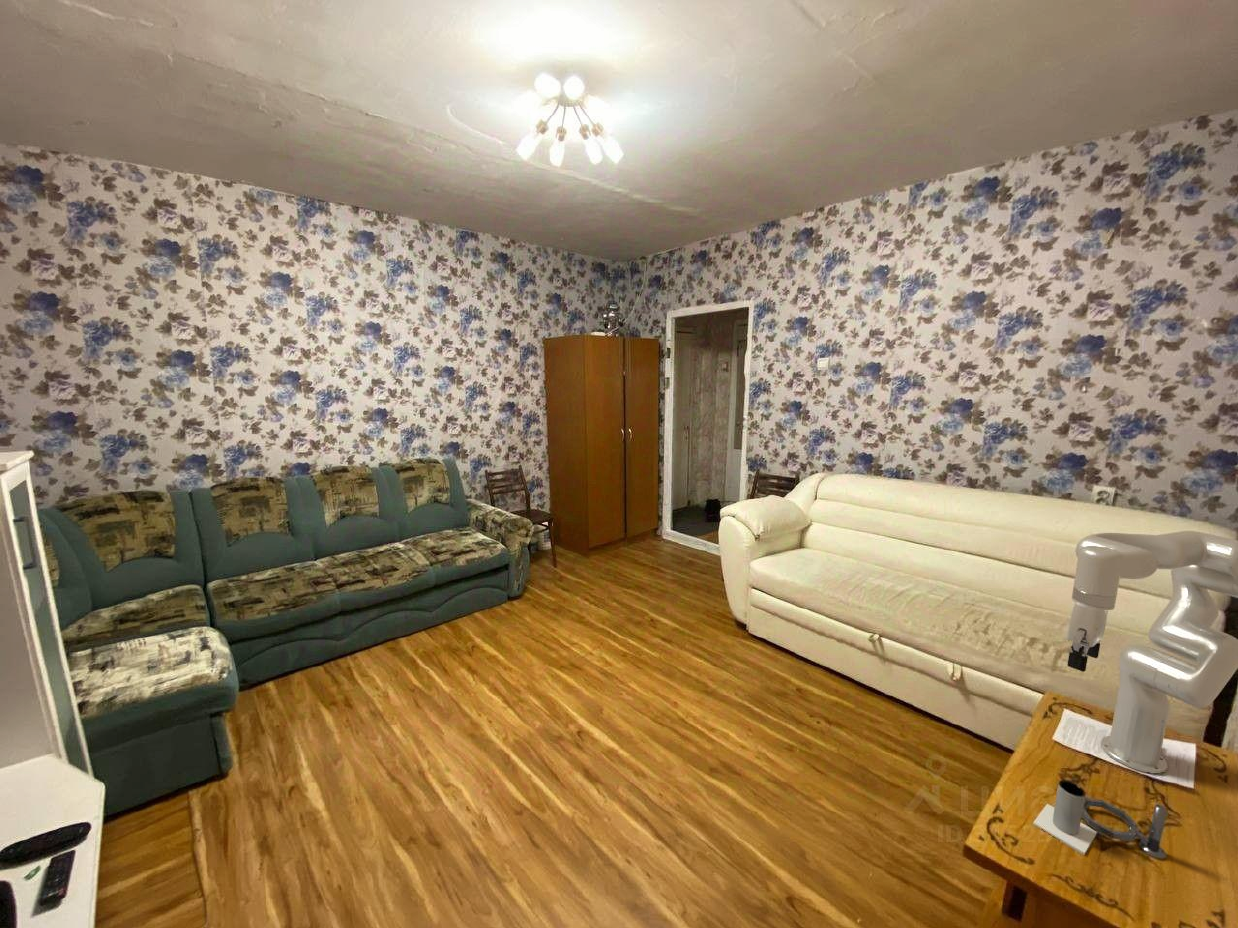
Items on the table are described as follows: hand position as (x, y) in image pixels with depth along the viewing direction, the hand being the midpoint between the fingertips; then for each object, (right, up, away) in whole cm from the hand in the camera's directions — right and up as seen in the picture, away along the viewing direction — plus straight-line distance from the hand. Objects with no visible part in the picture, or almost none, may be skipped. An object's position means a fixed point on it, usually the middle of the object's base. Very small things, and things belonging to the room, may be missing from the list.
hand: (1082, 661), depth 121 cm
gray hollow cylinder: (-11, -35, -8) cm, 38 cm away
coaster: (-12, -36, -8) cm, 38 cm away
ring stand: (0, -36, -9) cm, 37 cm away
